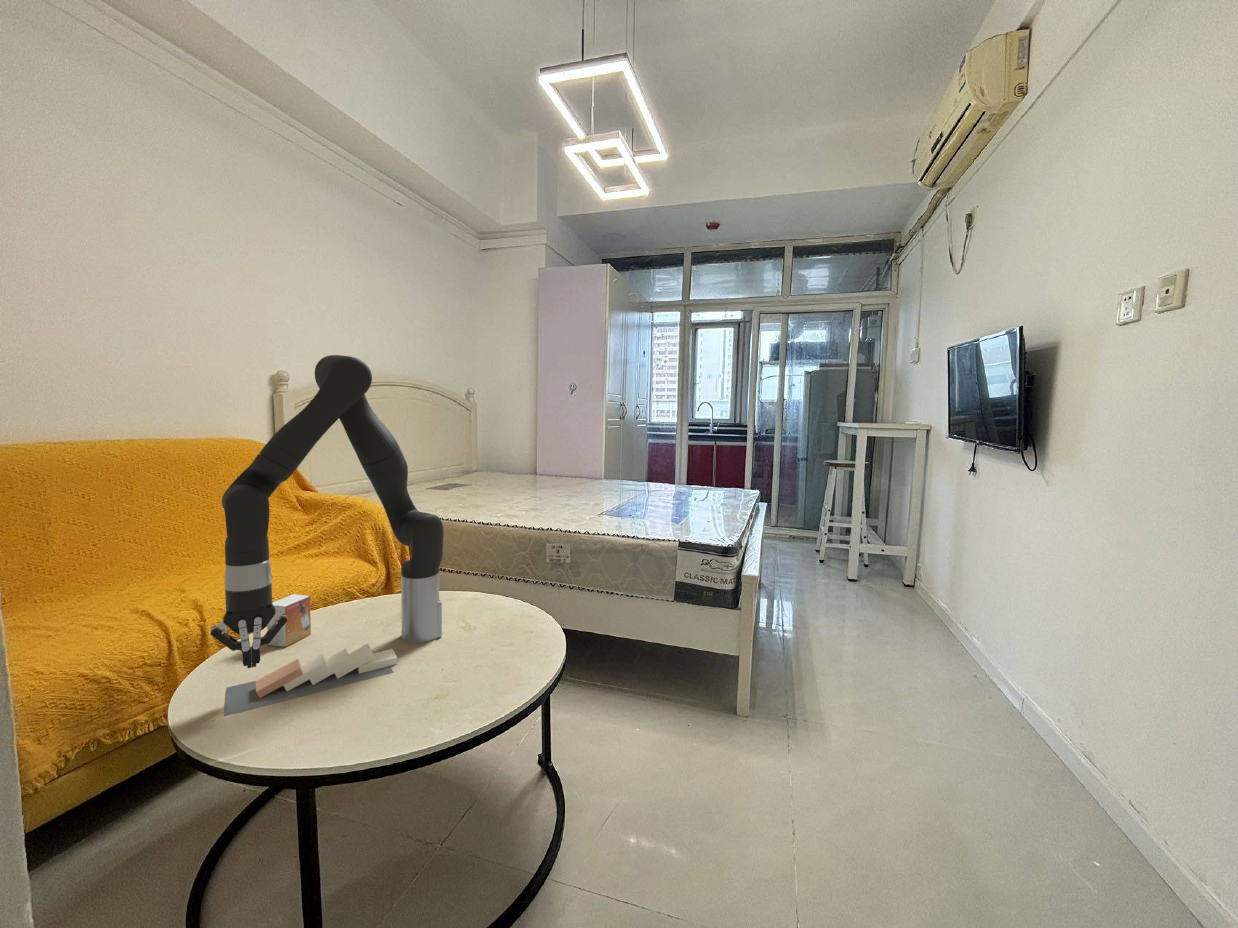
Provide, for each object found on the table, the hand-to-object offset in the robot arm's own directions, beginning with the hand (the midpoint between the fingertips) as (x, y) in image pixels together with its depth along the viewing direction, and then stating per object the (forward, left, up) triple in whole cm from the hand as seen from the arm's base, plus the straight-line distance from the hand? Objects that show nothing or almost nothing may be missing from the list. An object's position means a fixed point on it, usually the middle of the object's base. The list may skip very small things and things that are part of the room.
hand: (252, 665), depth 101 cm
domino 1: (-1, 0, -5) cm, 5 cm away
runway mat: (-10, 0, -6) cm, 12 cm away
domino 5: (-19, 0, -5) cm, 20 cm away
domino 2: (-5, 0, -5) cm, 8 cm away
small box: (-7, -26, -7) cm, 28 cm away
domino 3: (-10, 0, -5) cm, 11 cm away
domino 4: (-15, 0, -5) cm, 16 cm away
